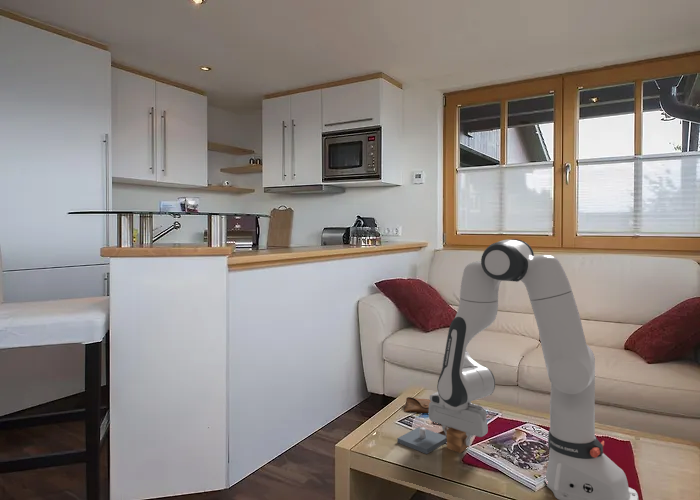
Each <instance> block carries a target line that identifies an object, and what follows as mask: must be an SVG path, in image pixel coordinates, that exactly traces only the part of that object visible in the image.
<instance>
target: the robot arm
mask: <svg viewBox="0 0 700 500" xmlns="http://www.w3.org/2000/svg"><path fill="white" fill-rule="evenodd" d="M565 271H566V270H565V269H564V267H563V266H562V264H561V262H560V260H559V259H558V258H557V257H555V256H553V255H549V254H541V255H537V256H536V255H535V253H534V251H533V248H532V247H531V245H530V244H528V243H527V242H526V241H524V240H521V239H518V238H512V239H503V240H500V241H496V242H494V243H491V244H489V246H487V247H485V250H484V251H483V252H482V255H481V259H480V261H479V260H478V261H473V262H470V263H468V264H467V265H466V266H465V267H464V269H463V272H462V277H461V282H460V283H461V285H460V290H459V304H458V309H457V312H456V314H455V317H454V318H453V319H452V321H451V323H450V325H449V328H448V333H447V339H446V344H445V350H444V355H443V357H442V366H441V367H442V368H441V370H440V371H441V372H440V373H439V377H438V379H437V391H436V392H434V393H432V394H430V395H429V400H430V401H431V402H430V403H429V414H428V419H429V420H430V421H431V422H432V423H433V422H435V423H438V424H437V425H439V424H441V425H440V426H441V428H442V430H443V432H444V434H445V435H444V436H445V438H446V439H447V430H448V429H449V428H454V429H457V430H460V431H463V432H466V436H467V438H465V439H463V442H464V443H463V444H464V445H466V446H470V445H471V439H472V438H473V436H475V437H478V438H482V437H484V436H486V434H488V432H489V428H488V420H487V418H488V417H487V416H488V415H487V411H486V409H485V408H484V407H483V406H481V405H477V404H474V403H472V402H474V401H477V400H480V399H483V398H486V397H489V396H491V395H492V394H493V393H494V391H495V389H496V378H495V376H494V374H493V372H492V370H491V369H489V367H487V366H486V365H482V364H481V363H479V362H477V361H476V360H475V359H474V358H472V356H471V355H470V353H469V351H467V347H468V345H469V343H470V341H471V340H473V338H475V337H476V335H478V334H479V333H481V332H483V331H484V330H485V329H487V328H489V327H490V326H491V325H492V324H493V323H494V322H495V320H496V318H497V315H498V310H499V291H500V290H499V289H500V285H501V282H502V281H503V282H517V283H518V282H520V281H521V282H522V283H523V285H524V286H525V288H526V291H527V295H528V298H529V301H530V305H531V308H532V312H533V314H534V318H535V323H536V325H537V329H538V335H539V339H540V345H541V346H540V347H541V351H542V355H543V359H544V364H545V368H546V372H547V373H546V374H547V376H548V380H549V381H550V396H549V397H550V399H549V430H548V437H547V444H548V451H549V456H548V462H547V468H546V473H545V475H546V479H547V481H548V484H547V485H546V486H547V488H548V489H550V490H551V491H552V493H553V495H554V497H555V498H556V499H557V500H640V499H639V494H638V492H637V491H636V490H635V488H634V489H633V488H632V487H629V482H628V479H627V476H626V475H627V474H626V473H625V472H624V470H623V469H622V468H621V467H619V466H618V465H617V464H616V463H615V462H614V461H613V460H611V458H609V457H608V456H607V455H606V453H604V446H605V441H604V440H602V441H601V442H600V440H599V439H598V438H597V436H596V435H595V434H596V432H595V431H596V428H595V426H596V424H595V423H596V419H595V417H596V416H595V411H596V409H595V408H596V404H595V403H596V402H595V400H596V395H595V394H596V392H595V391H596V387H595V386H596V357H595V354H594V352H593V350H592V348H591V347H590V345H588V344H587V341H586V338H585V333H584V328H583V324H582V319H581V316H580V313H579V309H578V306H577V302H576V300H575V299H576V298H575V296H574V293H573V289H572V286H571V284H570V281H569V278H568V276H567V273H566V272H565Z"/></svg>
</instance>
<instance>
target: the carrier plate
mask: <svg viewBox="0 0 700 500" xmlns="http://www.w3.org/2000/svg"><path fill="white" fill-rule="evenodd" d="M396 442H397V444H400V445H402V446H404V447H408V448H410V449H412V450H415V451H418V452H421V453H423V454H426V455H427V454H429V453H431V452H432V451H435V450H436V449H438V448H439V447H441V446H442V445H444V444H447V439H446V438H445V435H444V434H441V433H439V432H435V431H433V430H429V429H427V428H426V427H421V426H418V427H416V428H414V429H412V430H410V431H408V432H407V433H404V434H403V435H401V436H399V437H397V441H396Z"/></svg>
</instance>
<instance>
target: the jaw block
mask: <svg viewBox="0 0 700 500" xmlns="http://www.w3.org/2000/svg"><path fill="white" fill-rule="evenodd" d="M448 428H449V429H448V430H447V442H446V449H448V450H451V451H453V452H456V453H458V454H462V453H463V452H465V451H466V450H467V449H466V448H467V447H469V446H470V445H469V446H466V445H464V444H463V443H464V442H463V439H465V438H467V436H466V432H463V431H460V430H457V429H454V428H451V427H448ZM469 448H470V447H469Z"/></svg>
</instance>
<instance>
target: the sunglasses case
mask: <svg viewBox="0 0 700 500" xmlns="http://www.w3.org/2000/svg"><path fill="white" fill-rule="evenodd" d="M430 402H431V401H430V398H429V399H425V398H416V397H411V396H409V397H408V396H407V397H406V400H405V404H404V405H405V406H404V410H403V413H409V414H411V413H414V414H421V413H429V403H430Z"/></svg>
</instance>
